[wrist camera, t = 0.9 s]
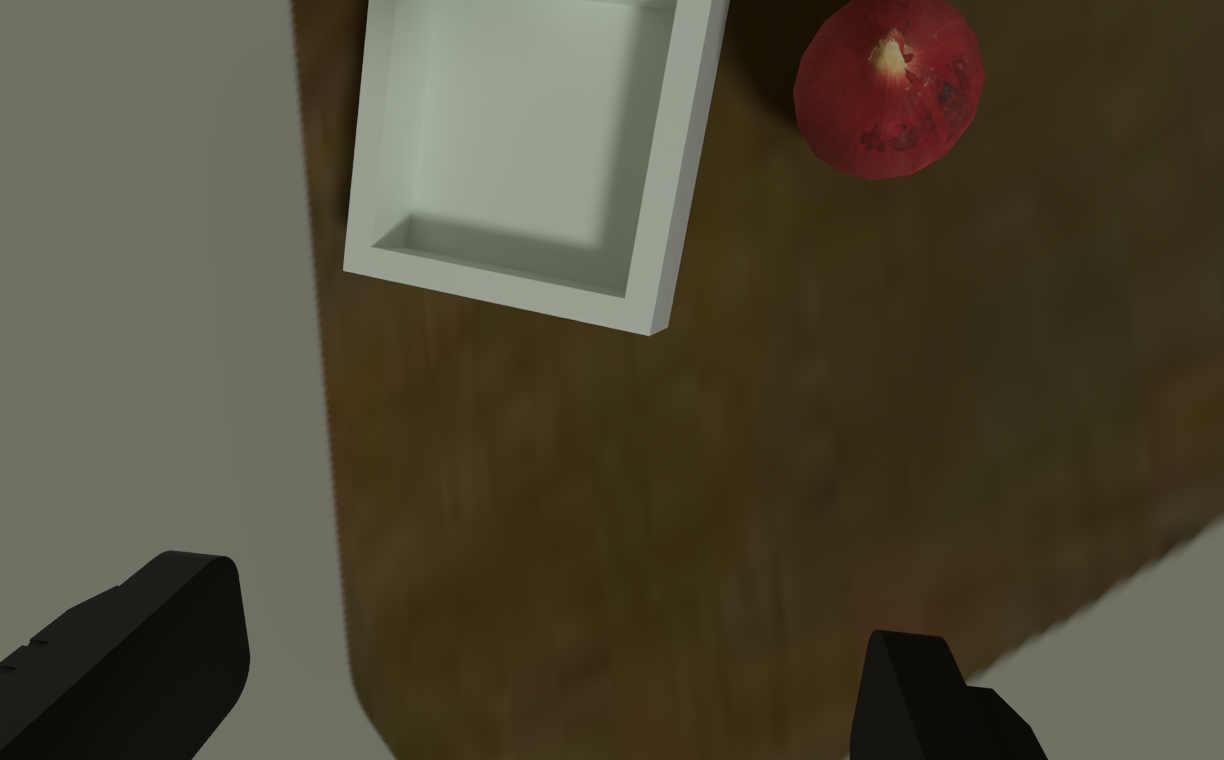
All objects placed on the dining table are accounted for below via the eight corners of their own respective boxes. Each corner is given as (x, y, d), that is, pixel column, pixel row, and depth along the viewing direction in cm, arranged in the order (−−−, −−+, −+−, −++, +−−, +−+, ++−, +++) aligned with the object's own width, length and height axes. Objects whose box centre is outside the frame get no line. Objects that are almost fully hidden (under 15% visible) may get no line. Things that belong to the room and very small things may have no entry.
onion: (996, 80, 27) (1064, 12, 19) (894, 217, 29) (919, 204, 21) (860, -3, 28) (873, -101, 20) (767, 135, 29) (748, 94, 22)
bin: (423, -44, 32) (376, -78, 29) (732, -13, 29) (720, -48, 26) (389, 269, 35) (343, 270, 31) (667, 327, 32) (649, 336, 28)
